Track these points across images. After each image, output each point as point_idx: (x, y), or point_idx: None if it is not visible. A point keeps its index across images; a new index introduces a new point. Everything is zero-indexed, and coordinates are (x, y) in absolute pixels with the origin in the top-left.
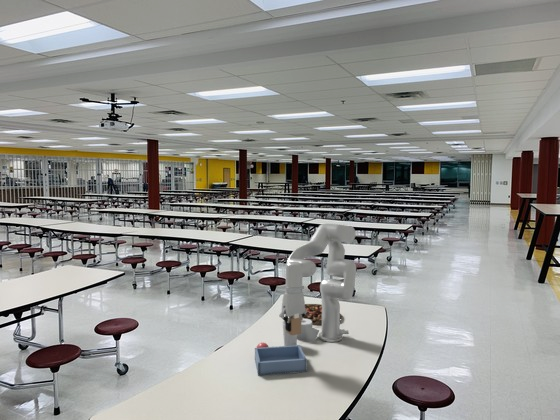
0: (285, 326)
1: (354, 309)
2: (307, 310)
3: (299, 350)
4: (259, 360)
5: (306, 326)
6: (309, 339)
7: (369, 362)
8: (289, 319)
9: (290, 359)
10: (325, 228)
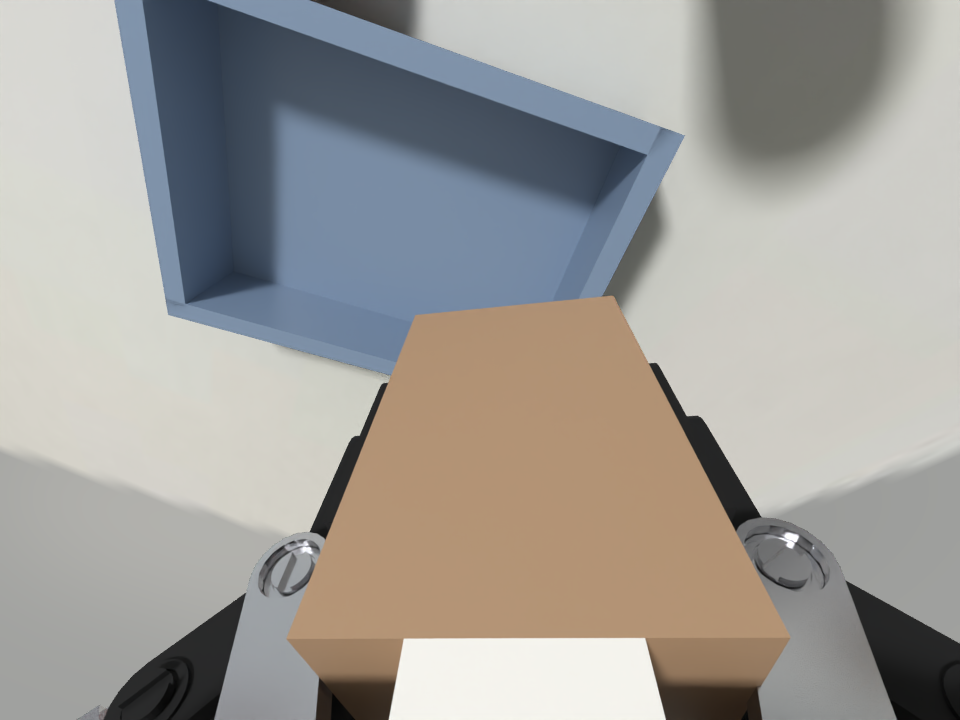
0: (341, 466)
1: None
2: None
3: (604, 237)
4: (178, 282)
5: None
6: None
7: (955, 431)
8: (348, 713)
9: (515, 189)
10: None
